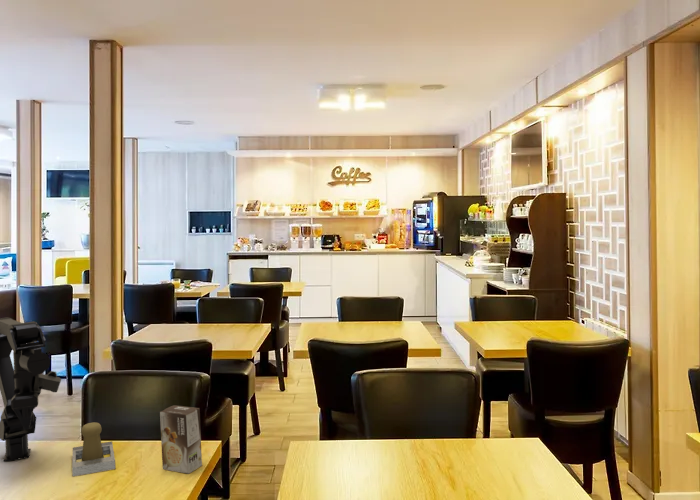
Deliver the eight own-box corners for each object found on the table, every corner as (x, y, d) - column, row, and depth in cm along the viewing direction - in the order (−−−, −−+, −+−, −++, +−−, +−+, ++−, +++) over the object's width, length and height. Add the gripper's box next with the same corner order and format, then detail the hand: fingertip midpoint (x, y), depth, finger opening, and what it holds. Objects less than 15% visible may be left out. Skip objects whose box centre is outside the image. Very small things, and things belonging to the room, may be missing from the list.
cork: (104, 464, 167) (102, 425, 166) (80, 468, 165) (78, 428, 164) (104, 456, 173) (103, 419, 172) (82, 459, 171) (80, 421, 170)
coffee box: (203, 465, 165) (201, 407, 165) (188, 474, 160) (186, 415, 159) (176, 460, 169) (174, 404, 168) (160, 469, 163) (158, 411, 162)
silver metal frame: (73, 455, 174) (72, 447, 174) (112, 449, 178) (112, 441, 178) (72, 476, 160) (72, 467, 159) (115, 468, 164) (115, 460, 164)
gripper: (57, 372, 160) (59, 429, 161) (59, 357, 177) (61, 410, 178) (9, 377, 156) (12, 436, 156) (16, 362, 173) (18, 415, 173)
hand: (28, 423), depth 166 cm, fingers open, 9 cm apart
